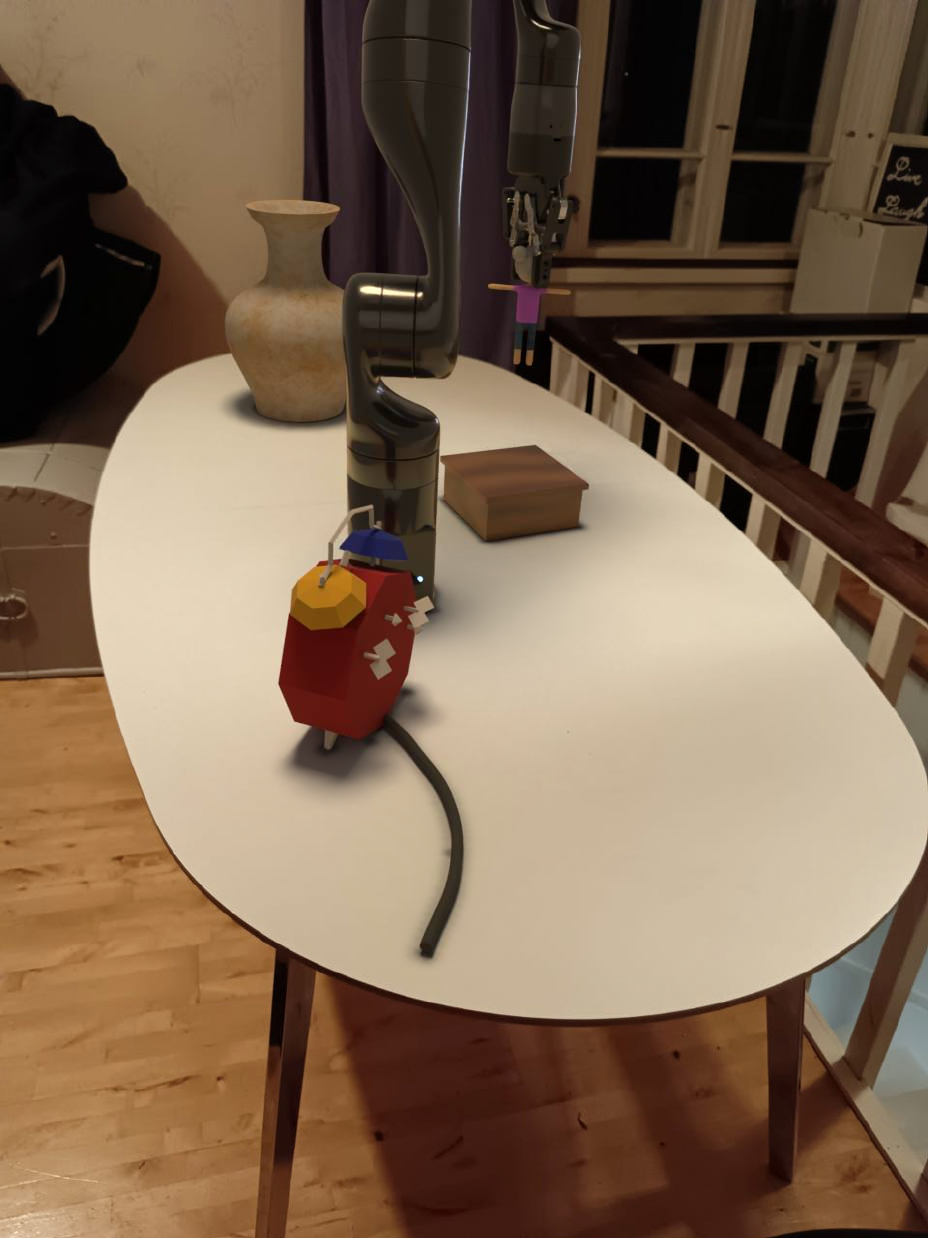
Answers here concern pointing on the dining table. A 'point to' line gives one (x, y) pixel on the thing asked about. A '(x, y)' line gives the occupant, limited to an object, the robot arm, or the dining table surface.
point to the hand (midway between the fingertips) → (529, 282)
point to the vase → (291, 318)
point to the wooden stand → (512, 491)
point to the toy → (526, 300)
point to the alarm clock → (350, 635)
